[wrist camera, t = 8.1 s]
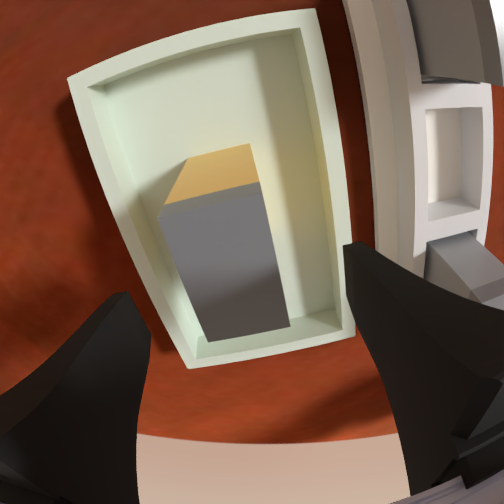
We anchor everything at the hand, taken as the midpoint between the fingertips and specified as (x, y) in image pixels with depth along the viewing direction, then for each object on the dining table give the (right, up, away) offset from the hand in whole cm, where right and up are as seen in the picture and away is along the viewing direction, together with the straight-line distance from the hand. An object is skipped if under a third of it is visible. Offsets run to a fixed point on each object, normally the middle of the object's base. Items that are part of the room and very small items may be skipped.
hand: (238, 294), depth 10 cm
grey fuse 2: (+12, +1, +8) cm, 15 cm away
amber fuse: (-1, +4, +6) cm, 7 cm away
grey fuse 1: (+9, +13, +1) cm, 16 cm away
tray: (0, +4, +6) cm, 7 cm away
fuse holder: (+11, +7, +5) cm, 14 cm away
